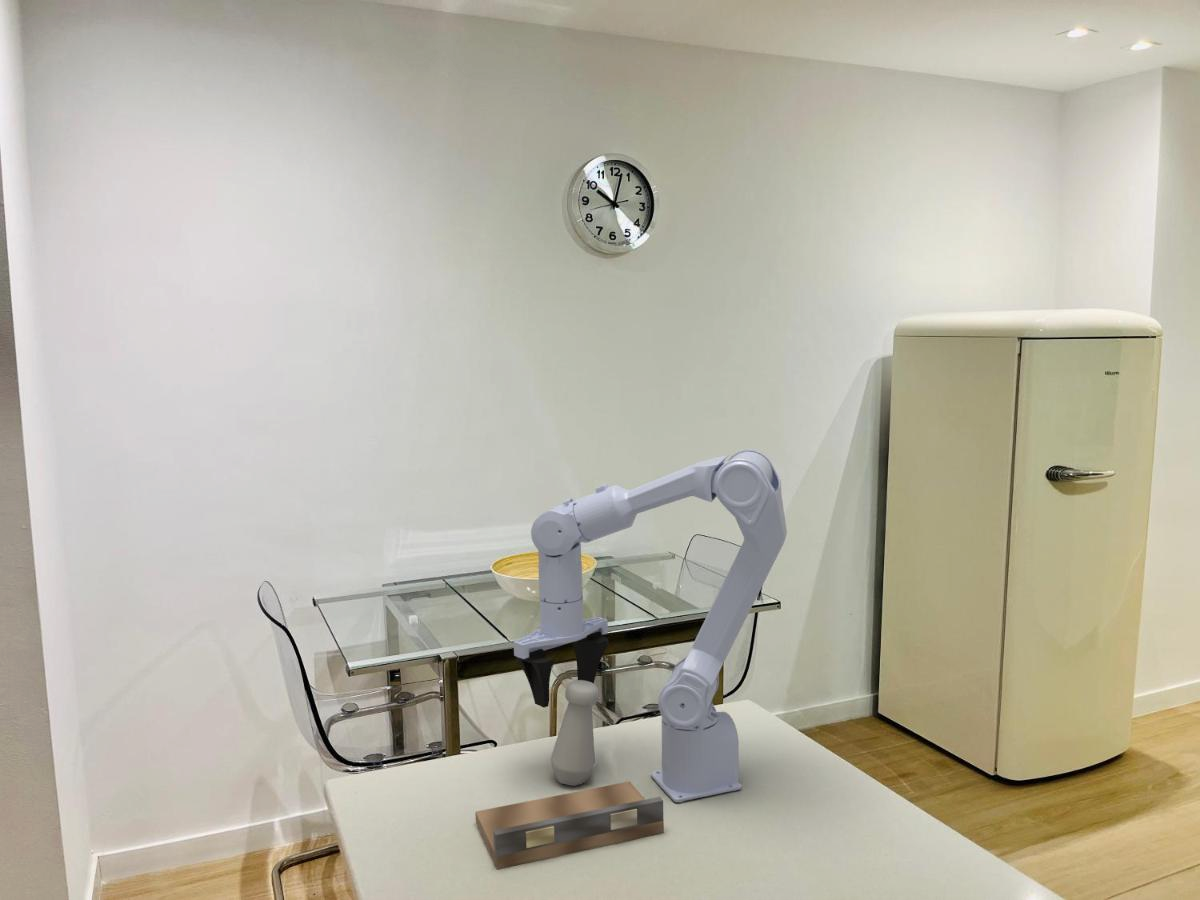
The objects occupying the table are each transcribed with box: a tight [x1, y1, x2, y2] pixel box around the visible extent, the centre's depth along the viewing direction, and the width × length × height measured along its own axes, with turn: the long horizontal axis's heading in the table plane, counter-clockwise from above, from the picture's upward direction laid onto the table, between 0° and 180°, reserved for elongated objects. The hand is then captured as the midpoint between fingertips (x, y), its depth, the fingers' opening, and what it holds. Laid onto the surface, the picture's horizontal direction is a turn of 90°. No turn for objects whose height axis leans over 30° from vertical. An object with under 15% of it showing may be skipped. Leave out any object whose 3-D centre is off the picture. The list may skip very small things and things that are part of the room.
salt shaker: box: [550, 679, 600, 787], centre depth 121 cm, size 6×6×13 cm
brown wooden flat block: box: [474, 780, 665, 870], centre depth 110 cm, size 20×11×4 cm, turn 110°
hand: (564, 697), depth 124 cm, fingers open, 7 cm apart
